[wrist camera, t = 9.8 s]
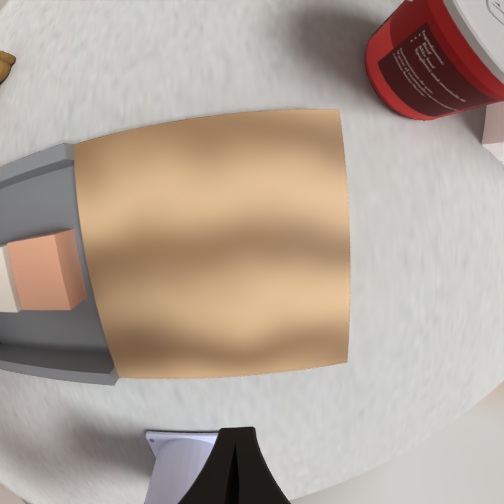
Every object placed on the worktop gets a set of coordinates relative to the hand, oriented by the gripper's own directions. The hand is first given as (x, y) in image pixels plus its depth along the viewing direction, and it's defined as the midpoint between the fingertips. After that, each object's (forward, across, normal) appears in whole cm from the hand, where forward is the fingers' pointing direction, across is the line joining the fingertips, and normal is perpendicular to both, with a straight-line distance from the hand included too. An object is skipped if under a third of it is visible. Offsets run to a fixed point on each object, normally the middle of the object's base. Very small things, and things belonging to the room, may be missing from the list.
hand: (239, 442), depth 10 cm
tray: (+10, +17, -6) cm, 21 cm away
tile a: (+10, +13, -6) cm, 18 cm away
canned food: (+11, -14, -18) cm, 25 cm away
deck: (+10, +1, -6) cm, 12 cm away
